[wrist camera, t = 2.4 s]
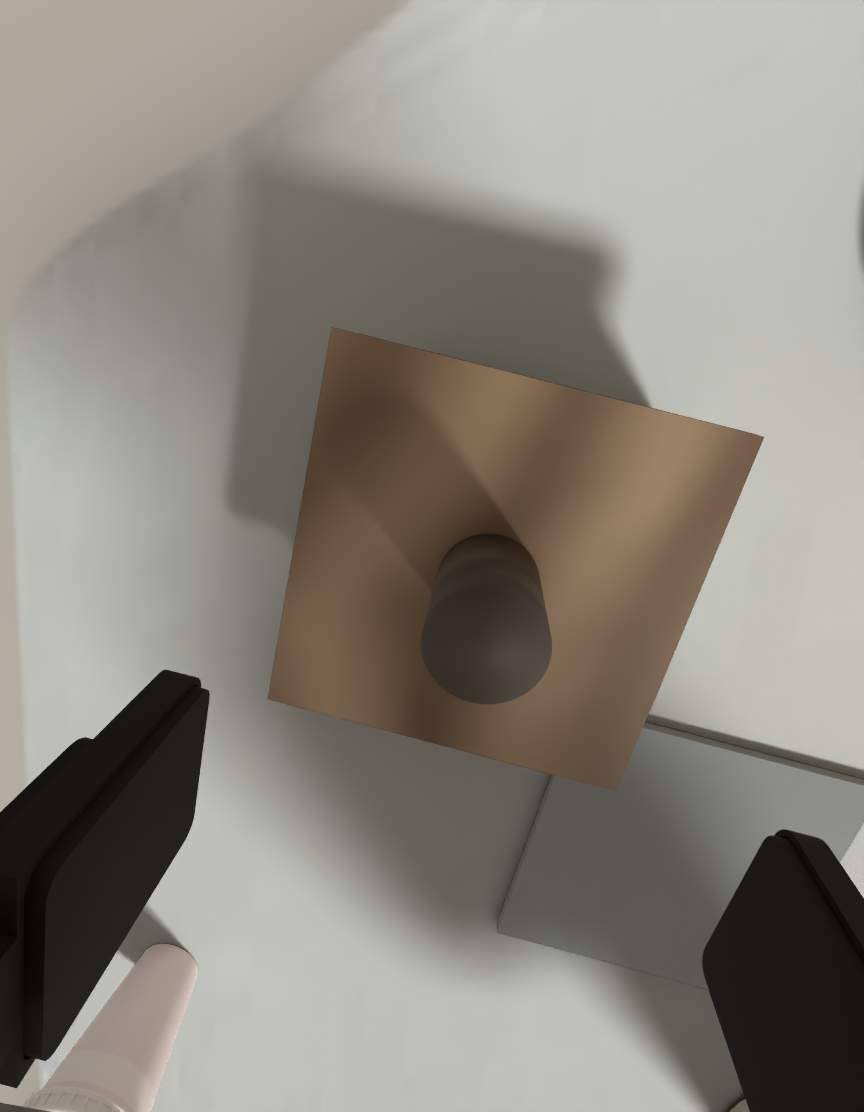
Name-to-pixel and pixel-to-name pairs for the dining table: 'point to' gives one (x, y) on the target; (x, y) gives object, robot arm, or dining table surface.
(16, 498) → the dining table surface
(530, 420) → the lid
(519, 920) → the mat
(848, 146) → the dining table surface
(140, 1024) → the smoothie
